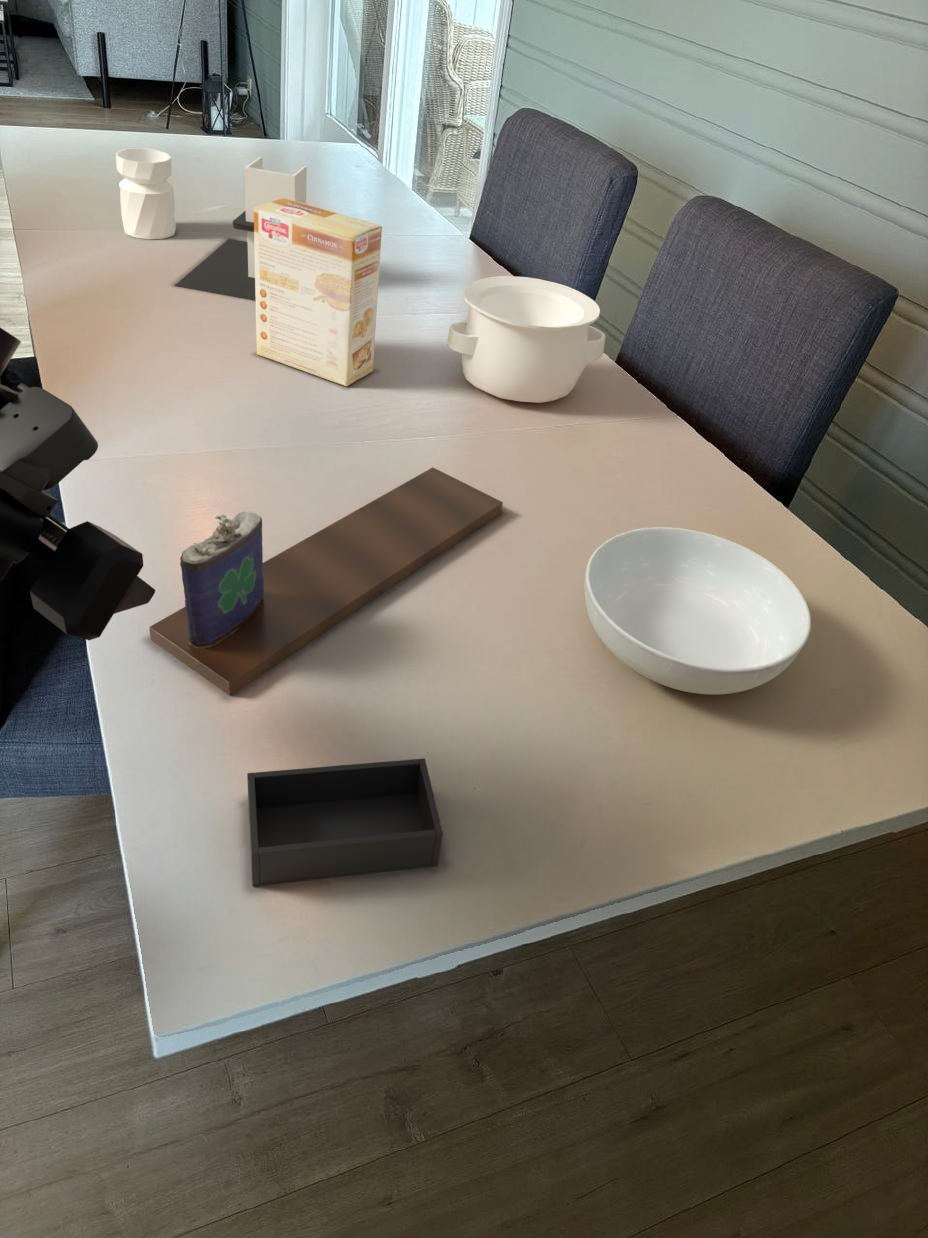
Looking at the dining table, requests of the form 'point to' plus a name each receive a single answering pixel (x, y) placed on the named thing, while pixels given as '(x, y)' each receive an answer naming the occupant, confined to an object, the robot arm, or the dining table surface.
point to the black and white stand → (236, 259)
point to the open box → (342, 821)
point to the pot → (526, 337)
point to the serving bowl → (694, 610)
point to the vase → (146, 193)
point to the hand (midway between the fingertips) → (109, 566)
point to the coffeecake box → (316, 289)
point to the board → (335, 575)
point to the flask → (223, 579)
